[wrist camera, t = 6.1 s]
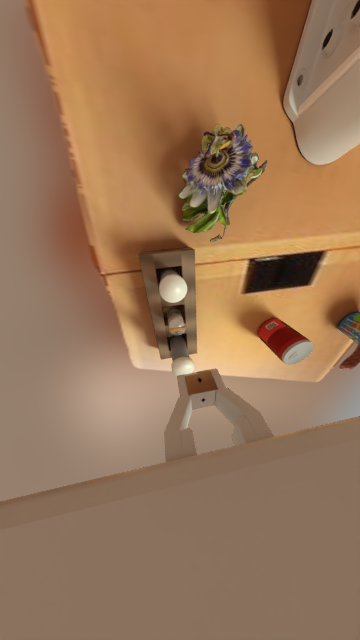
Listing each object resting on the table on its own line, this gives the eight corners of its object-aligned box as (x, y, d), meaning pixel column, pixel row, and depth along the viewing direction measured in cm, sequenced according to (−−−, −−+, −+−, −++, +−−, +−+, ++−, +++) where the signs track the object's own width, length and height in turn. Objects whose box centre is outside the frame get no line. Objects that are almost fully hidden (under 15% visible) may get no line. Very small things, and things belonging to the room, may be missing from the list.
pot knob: (166, 308, 32) (168, 324, 27) (180, 306, 32) (185, 321, 27) (167, 320, 34) (170, 337, 29) (181, 318, 34) (186, 334, 29)
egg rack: (140, 252, 28) (138, 255, 25) (189, 247, 29) (194, 249, 26) (160, 349, 42) (160, 359, 39) (193, 343, 43) (196, 353, 40)
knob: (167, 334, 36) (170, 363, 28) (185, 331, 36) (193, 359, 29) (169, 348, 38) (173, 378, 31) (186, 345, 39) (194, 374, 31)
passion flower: (192, 178, 28) (241, 82, 17) (227, 223, 31) (288, 167, 20) (157, 211, 25) (190, 120, 14) (201, 258, 28) (255, 214, 17)
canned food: (252, 337, 46) (277, 364, 37) (265, 316, 42) (296, 340, 33) (272, 339, 48) (300, 365, 38) (285, 318, 44) (321, 342, 35)
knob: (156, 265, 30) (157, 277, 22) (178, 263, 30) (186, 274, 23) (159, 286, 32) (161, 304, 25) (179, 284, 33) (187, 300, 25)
